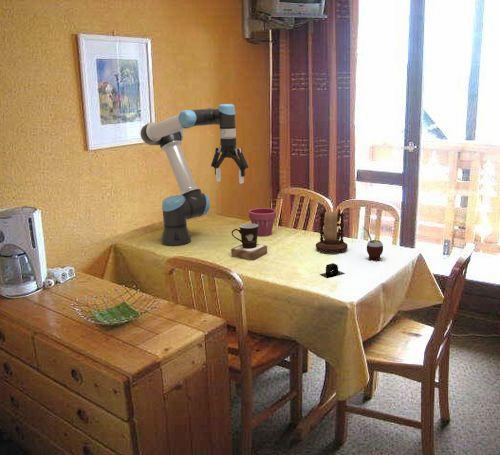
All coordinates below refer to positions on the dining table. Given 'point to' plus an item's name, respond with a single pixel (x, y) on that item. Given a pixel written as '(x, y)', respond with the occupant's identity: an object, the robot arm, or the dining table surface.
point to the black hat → (329, 271)
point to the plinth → (249, 252)
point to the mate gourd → (374, 248)
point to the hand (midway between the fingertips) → (230, 182)
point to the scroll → (331, 232)
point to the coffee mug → (248, 235)
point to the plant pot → (263, 220)
